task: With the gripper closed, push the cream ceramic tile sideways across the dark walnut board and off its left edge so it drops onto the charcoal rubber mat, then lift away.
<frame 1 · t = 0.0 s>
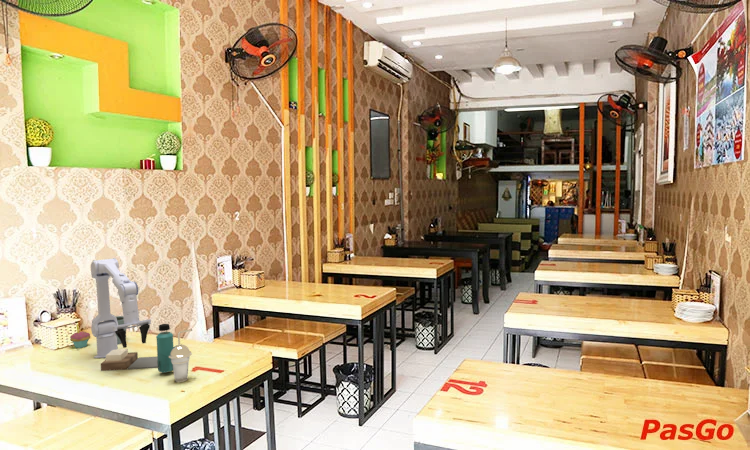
hand: (134, 345, 214), 11 cm above the table, tool pointing down, fingers open, 7 cm apart
mat: (148, 363, 224), on the table
cup with straw: (181, 380, 202), on the table
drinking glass: (116, 342, 257), on the table
beverage bottle: (166, 374, 210), on the table
cupcake: (80, 347, 251), on the table
tile: (117, 355, 222), point 4 cm above the table, touching board
board: (119, 364, 223), on the table
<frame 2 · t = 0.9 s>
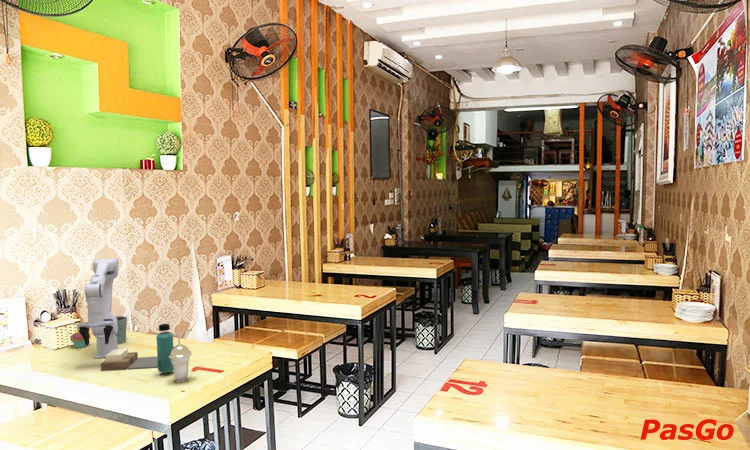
hand: (97, 344, 220), 10 cm above the table, tool pointing down, fingers open, 7 cm apart
nothing on the table moved.
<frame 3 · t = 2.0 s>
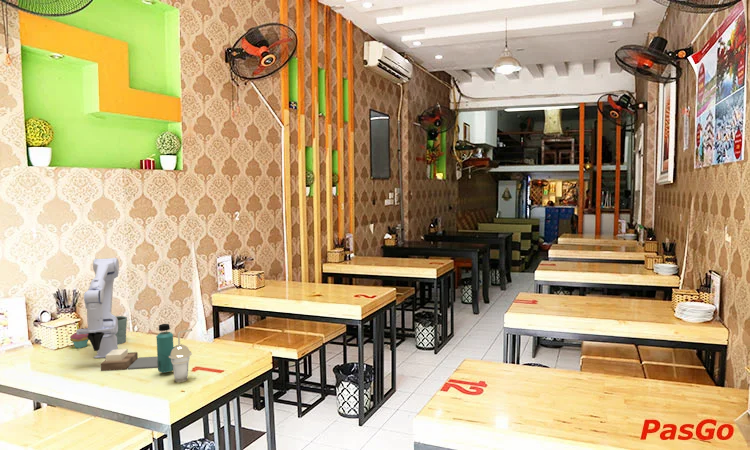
hand: (96, 350, 221), 7 cm above the table, tool pointing down, fingers closed
nothing on the table moved.
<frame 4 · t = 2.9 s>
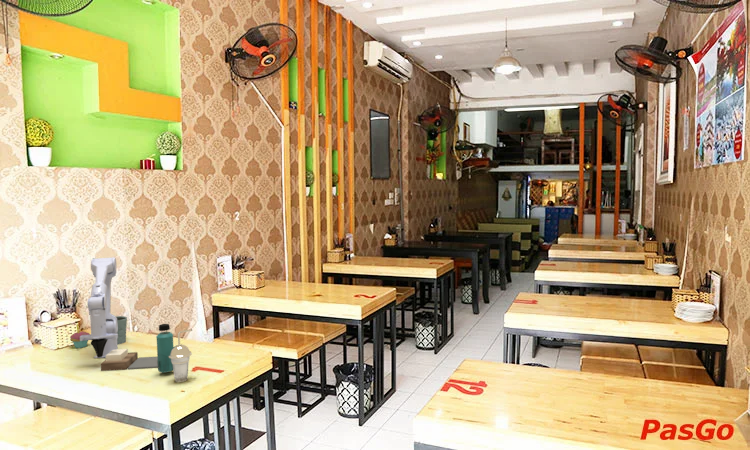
hand: (100, 356, 221), 4 cm above the table, tool pointing down, fingers closed
nothing on the table moved.
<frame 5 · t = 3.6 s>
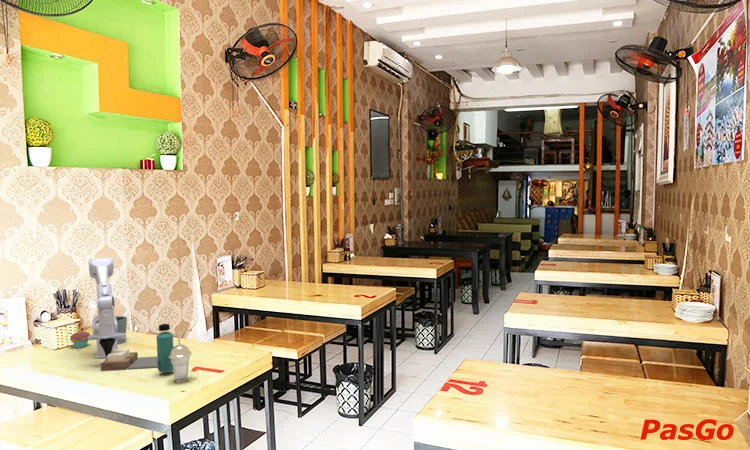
hand: (108, 356, 222), 4 cm above the table, tool pointing down, fingers closed
tile: (118, 354, 222), point 4 cm above the table, touching gripper
everything else where it was.
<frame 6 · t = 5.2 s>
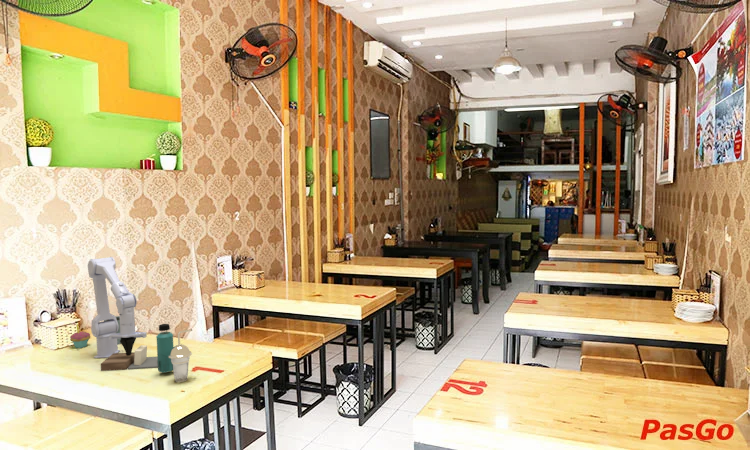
hand: (128, 354, 223), 4 cm above the table, tool pointing down, fingers closed
tile: (140, 355, 223), point 4 cm above the table, tilted 95°, touching mat
everything else where it was.
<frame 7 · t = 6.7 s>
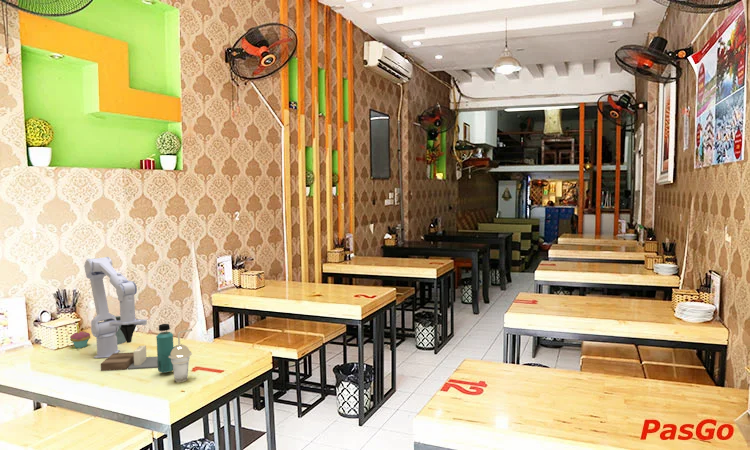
hand: (129, 342, 223), 9 cm above the table, tool pointing down, fingers closed
nothing on the table moved.
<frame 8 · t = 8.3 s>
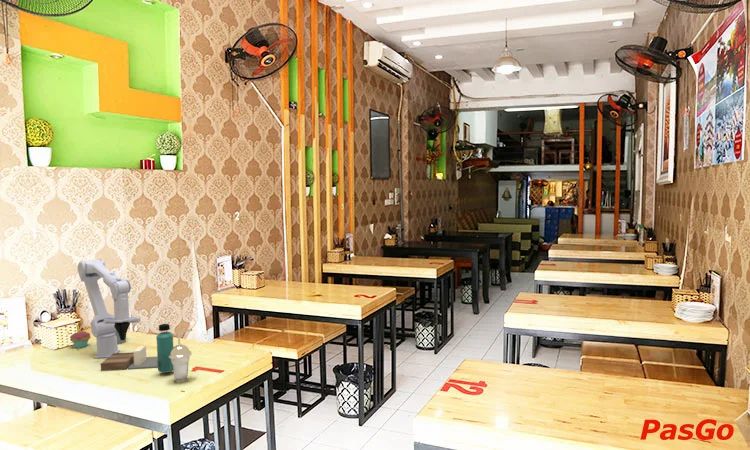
hand: (123, 339, 227), 9 cm above the table, tool pointing down, fingers closed
nothing on the table moved.
at the end: tile inside the target area (3.1 cm from its centre), point 3.6 cm above the table; tile touching mat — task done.
